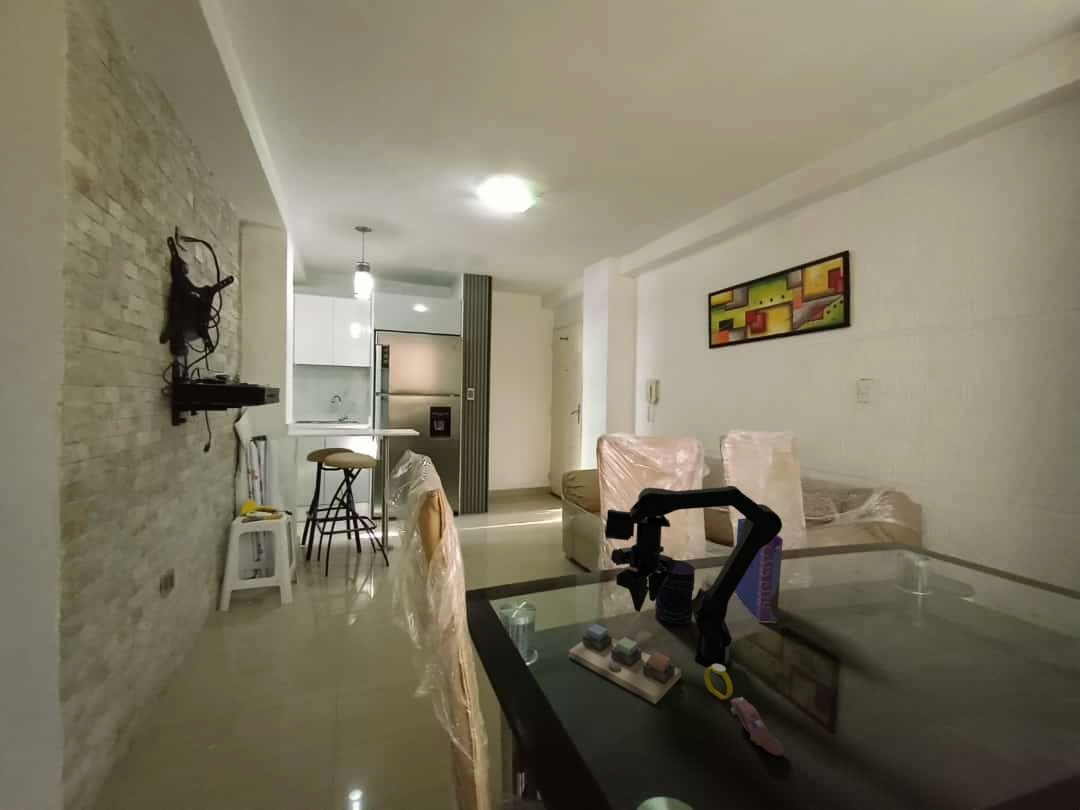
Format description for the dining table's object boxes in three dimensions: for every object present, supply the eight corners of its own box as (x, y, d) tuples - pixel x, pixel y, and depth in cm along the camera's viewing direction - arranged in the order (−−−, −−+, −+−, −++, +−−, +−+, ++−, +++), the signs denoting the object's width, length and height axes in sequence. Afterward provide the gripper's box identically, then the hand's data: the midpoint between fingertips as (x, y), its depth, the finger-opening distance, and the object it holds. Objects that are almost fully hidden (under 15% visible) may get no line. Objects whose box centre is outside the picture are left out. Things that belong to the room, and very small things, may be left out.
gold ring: (701, 690, 96) (701, 661, 96) (710, 685, 98) (710, 658, 98) (726, 705, 91) (726, 676, 91) (734, 701, 93) (734, 671, 93)
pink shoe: (735, 724, 89) (722, 694, 88) (756, 714, 89) (743, 683, 88) (765, 767, 79) (750, 733, 78) (788, 755, 79) (773, 721, 78)
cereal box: (776, 623, 125) (782, 538, 123) (759, 623, 125) (765, 537, 123) (748, 594, 142) (753, 518, 141) (733, 593, 142) (738, 518, 141)
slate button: (607, 637, 109) (607, 629, 109) (599, 643, 106) (599, 634, 106) (595, 631, 111) (595, 623, 111) (587, 637, 109) (587, 629, 108)
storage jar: (696, 617, 126) (699, 565, 125) (686, 633, 118) (690, 577, 117) (660, 607, 131) (663, 556, 130) (649, 621, 123) (652, 567, 122)
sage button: (636, 651, 104) (637, 643, 104) (629, 657, 101) (629, 649, 101) (624, 645, 106) (624, 637, 106) (616, 651, 103) (616, 642, 103)
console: (680, 676, 100) (681, 661, 100) (655, 704, 91) (656, 687, 91) (597, 636, 114) (598, 623, 114) (568, 656, 105) (569, 642, 105)
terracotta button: (669, 667, 98) (670, 658, 98) (662, 674, 96) (663, 665, 96) (655, 660, 101) (655, 651, 100) (648, 667, 98) (648, 658, 98)
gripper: (637, 525, 120) (634, 583, 121) (598, 542, 106) (595, 607, 107) (677, 536, 113) (673, 597, 114) (640, 556, 99) (637, 625, 100)
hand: (644, 605), depth 109 cm, fingers open, 7 cm apart
